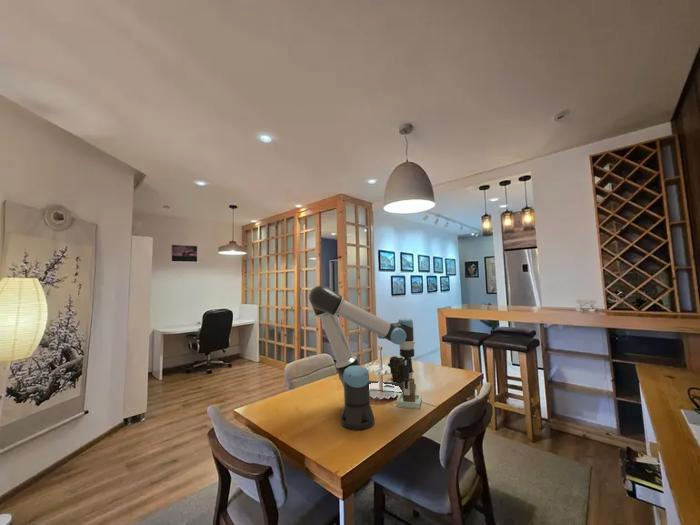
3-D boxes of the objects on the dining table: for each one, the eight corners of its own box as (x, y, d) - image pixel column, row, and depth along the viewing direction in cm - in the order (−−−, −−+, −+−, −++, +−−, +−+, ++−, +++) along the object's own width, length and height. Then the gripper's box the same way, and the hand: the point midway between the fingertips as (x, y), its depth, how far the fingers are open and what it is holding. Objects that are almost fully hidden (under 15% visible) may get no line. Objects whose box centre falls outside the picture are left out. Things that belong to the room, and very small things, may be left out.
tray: (419, 409, 140) (419, 403, 140) (396, 406, 143) (396, 401, 144) (421, 400, 151) (421, 394, 151) (399, 397, 154) (399, 392, 155)
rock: (387, 380, 183) (388, 356, 186) (395, 379, 189) (396, 355, 192) (403, 384, 174) (404, 358, 177) (411, 382, 180) (412, 357, 184)
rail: (413, 394, 159) (413, 390, 159) (362, 389, 169) (362, 385, 169) (415, 387, 168) (415, 384, 169) (367, 383, 178) (366, 380, 178)
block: (414, 404, 144) (413, 382, 144) (403, 403, 145) (402, 381, 146) (415, 400, 149) (414, 379, 150) (404, 399, 151) (403, 378, 151)
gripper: (411, 354, 136) (413, 400, 135) (416, 343, 160) (418, 382, 158) (395, 353, 139) (397, 398, 137) (403, 343, 162) (404, 381, 161)
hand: (408, 389), depth 148 cm, fingers open, 13 cm apart
